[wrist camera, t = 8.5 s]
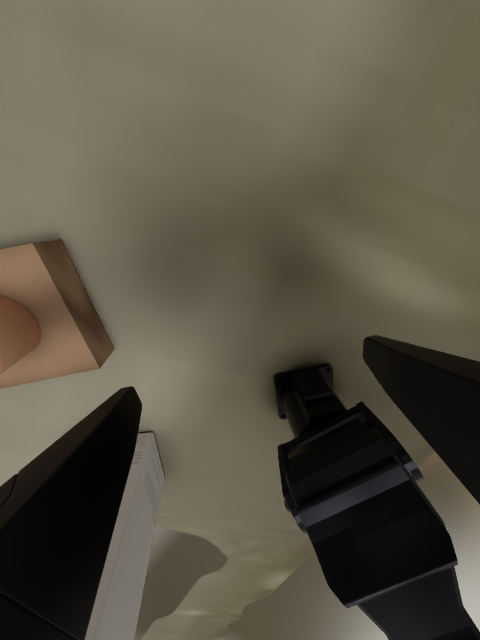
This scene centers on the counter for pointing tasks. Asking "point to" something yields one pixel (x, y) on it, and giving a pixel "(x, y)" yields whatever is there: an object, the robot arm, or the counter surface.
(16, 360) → the terracotta cylinder
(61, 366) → the tan flat block
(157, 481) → the supplement box
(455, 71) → the counter surface
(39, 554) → the robot arm
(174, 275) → the counter surface
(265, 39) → the counter surface
